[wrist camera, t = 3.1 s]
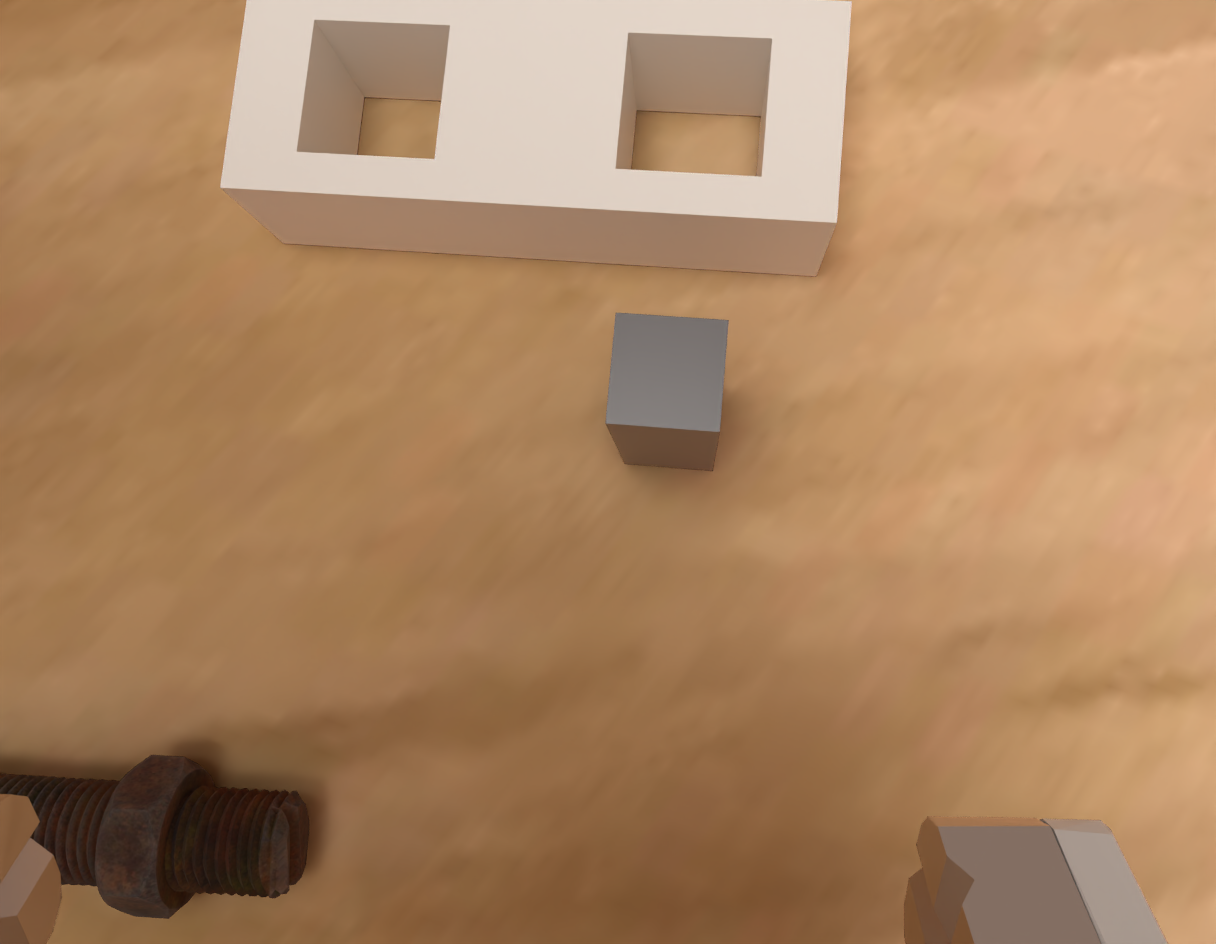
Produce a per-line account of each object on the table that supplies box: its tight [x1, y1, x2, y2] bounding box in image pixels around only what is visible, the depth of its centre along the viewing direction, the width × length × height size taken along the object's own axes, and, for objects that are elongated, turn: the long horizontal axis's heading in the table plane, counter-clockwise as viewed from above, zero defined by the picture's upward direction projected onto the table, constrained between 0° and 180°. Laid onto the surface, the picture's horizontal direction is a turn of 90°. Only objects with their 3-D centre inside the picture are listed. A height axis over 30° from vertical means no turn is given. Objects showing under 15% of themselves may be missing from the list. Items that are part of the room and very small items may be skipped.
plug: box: [606, 313, 729, 471], centre depth 31 cm, size 3×3×8 cm
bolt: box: [0, 755, 309, 919], centre depth 33 cm, size 6×5×15 cm
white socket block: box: [220, 0, 852, 276], centre depth 34 cm, size 19×8×5 cm, turn 85°
